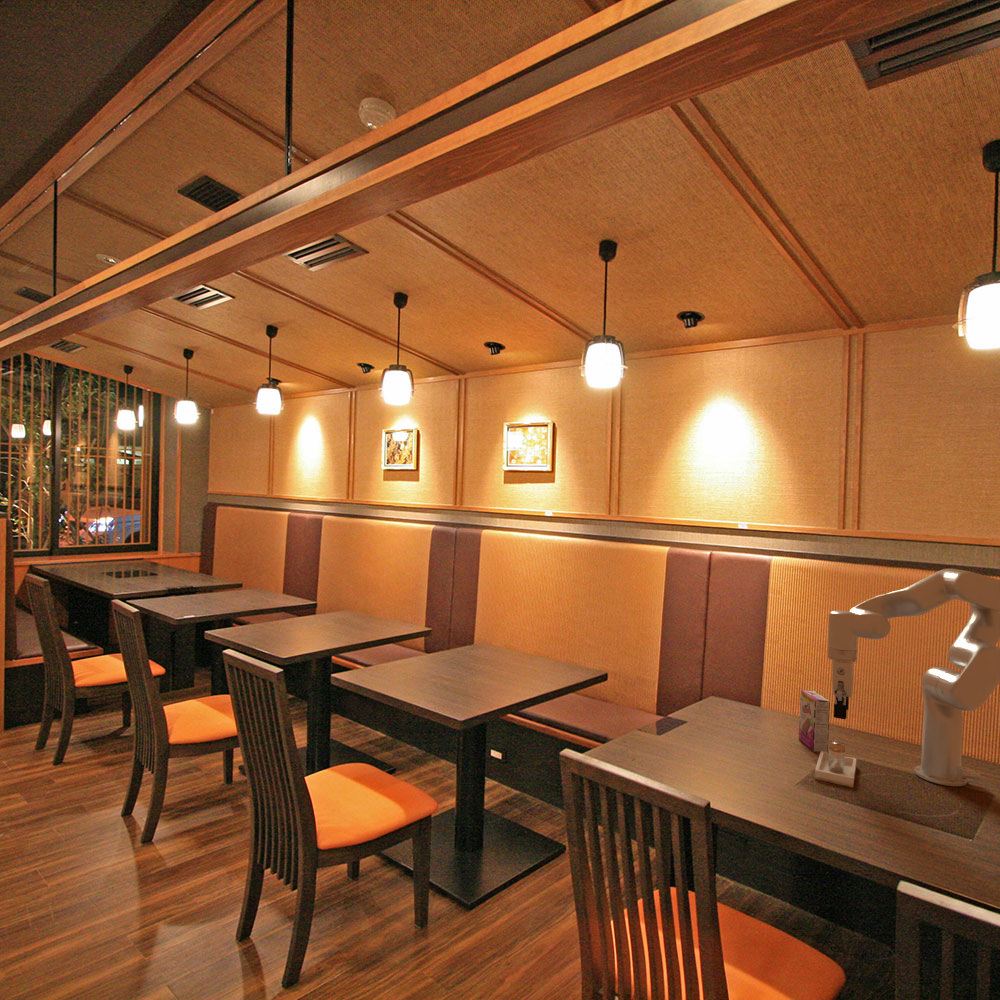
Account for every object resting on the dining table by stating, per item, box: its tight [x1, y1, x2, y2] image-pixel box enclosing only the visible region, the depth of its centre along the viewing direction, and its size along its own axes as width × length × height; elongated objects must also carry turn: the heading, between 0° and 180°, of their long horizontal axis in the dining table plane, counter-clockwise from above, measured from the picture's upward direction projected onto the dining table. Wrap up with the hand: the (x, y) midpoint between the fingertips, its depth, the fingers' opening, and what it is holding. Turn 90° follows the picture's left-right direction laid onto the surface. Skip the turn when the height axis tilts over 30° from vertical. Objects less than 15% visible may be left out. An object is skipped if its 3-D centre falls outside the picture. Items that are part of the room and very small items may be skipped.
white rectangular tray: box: [814, 751, 857, 788], centre depth 195 cm, size 10×18×2 cm, turn 150°
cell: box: [828, 740, 846, 774], centre depth 195 cm, size 4×4×8 cm
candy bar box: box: [798, 689, 831, 753], centre depth 216 cm, size 11×5×16 cm, turn 179°
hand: (841, 713), depth 195 cm, fingers open, 9 cm apart
